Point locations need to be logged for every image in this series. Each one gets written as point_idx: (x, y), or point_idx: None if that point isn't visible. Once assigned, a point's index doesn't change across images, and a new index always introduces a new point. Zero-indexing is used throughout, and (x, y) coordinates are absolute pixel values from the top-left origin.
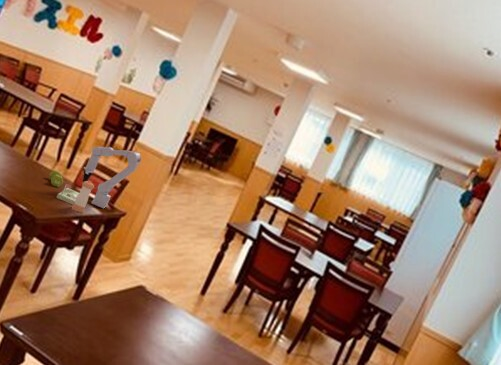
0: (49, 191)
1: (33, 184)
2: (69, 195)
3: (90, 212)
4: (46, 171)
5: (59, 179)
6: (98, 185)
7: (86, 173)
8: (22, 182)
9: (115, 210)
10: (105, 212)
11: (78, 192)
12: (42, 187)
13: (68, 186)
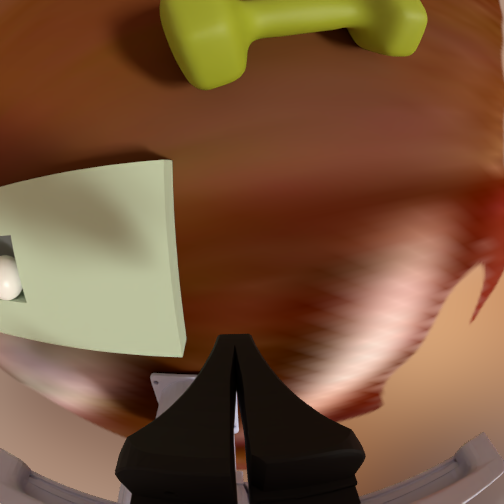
0: (6, 118)
1: (29, 24)
2: (17, 247)
3: (17, 370)
4: (469, 15)
5: (167, 40)
6: (125, 490)
7: (12, 466)
8: (6, 11)
9: (245, 454)
10: (122, 429)
11: (172, 282)
12: (29, 60)
13: None
